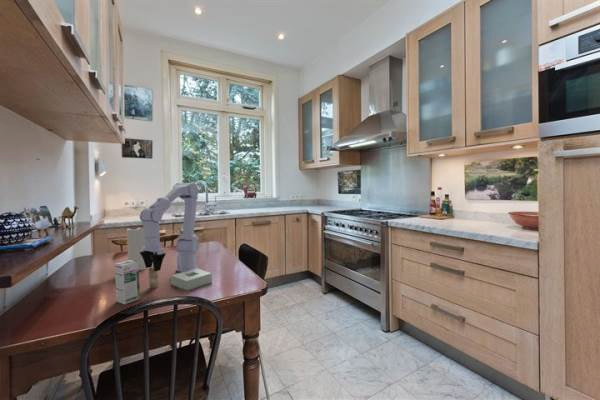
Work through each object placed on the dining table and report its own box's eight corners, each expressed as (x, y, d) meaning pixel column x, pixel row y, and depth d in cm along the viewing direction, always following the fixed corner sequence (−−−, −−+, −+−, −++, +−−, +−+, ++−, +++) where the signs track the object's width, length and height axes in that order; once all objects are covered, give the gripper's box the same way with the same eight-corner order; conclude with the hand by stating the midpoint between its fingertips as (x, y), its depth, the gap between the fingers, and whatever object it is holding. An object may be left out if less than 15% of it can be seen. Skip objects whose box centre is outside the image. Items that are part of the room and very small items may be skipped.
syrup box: (124, 305, 98) (122, 265, 97) (116, 301, 101) (114, 262, 100) (140, 299, 103) (138, 261, 102) (132, 296, 106) (130, 259, 105)
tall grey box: (125, 271, 137) (123, 229, 136) (135, 267, 143) (133, 227, 142) (137, 272, 136) (135, 229, 134) (147, 268, 141) (145, 227, 140)
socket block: (171, 284, 118) (171, 275, 118) (196, 276, 128) (196, 268, 127) (186, 290, 111) (186, 280, 111) (212, 282, 120) (211, 273, 120)
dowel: (148, 287, 115) (147, 268, 114) (156, 285, 117) (155, 266, 117) (151, 289, 113) (150, 270, 112) (159, 286, 115) (158, 268, 115)
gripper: (134, 236, 115) (135, 268, 116) (149, 240, 106) (151, 274, 107) (151, 234, 121) (152, 264, 121) (167, 237, 112) (168, 270, 113)
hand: (153, 269), depth 115 cm, fingers open, 7 cm apart
